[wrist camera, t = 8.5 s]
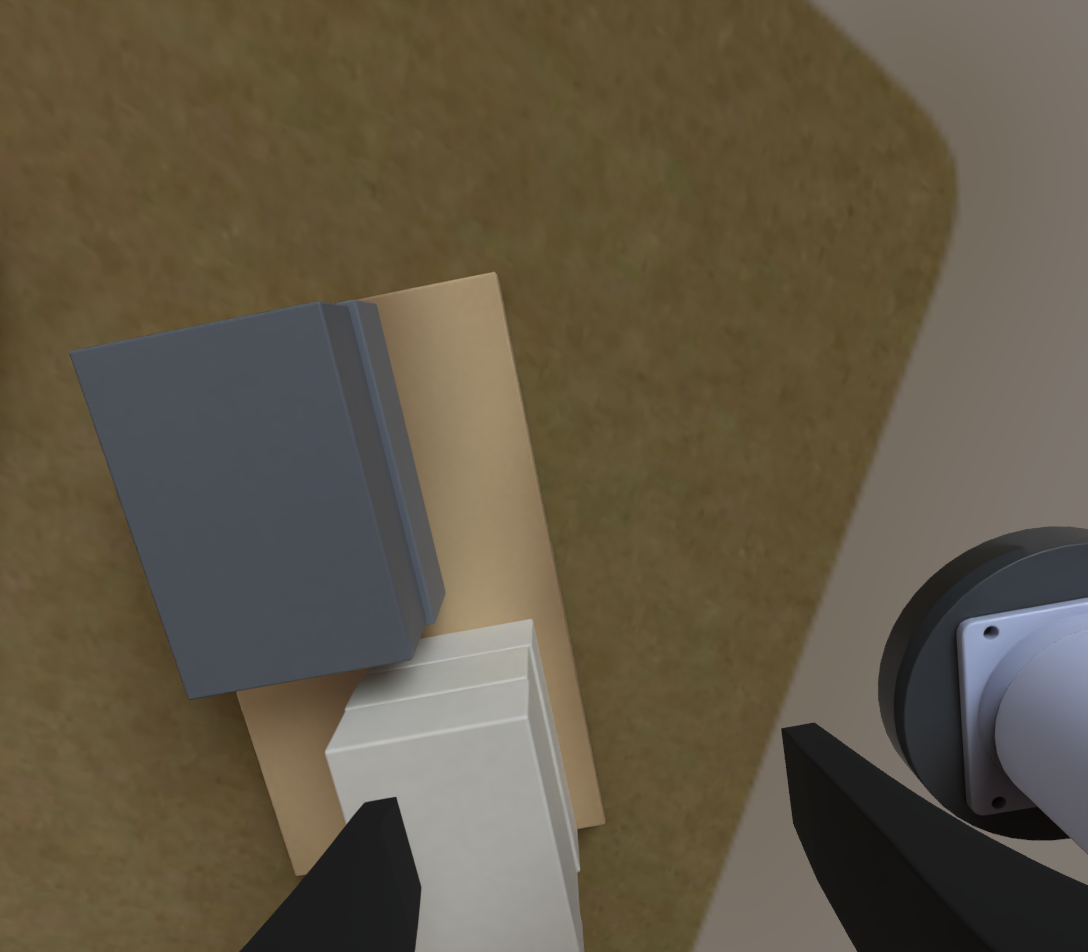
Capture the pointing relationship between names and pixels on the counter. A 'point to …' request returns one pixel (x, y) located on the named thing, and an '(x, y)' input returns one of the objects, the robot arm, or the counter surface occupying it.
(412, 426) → the shelf board
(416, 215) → the counter surface
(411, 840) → the white book
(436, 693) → the white books
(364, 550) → the grey books
